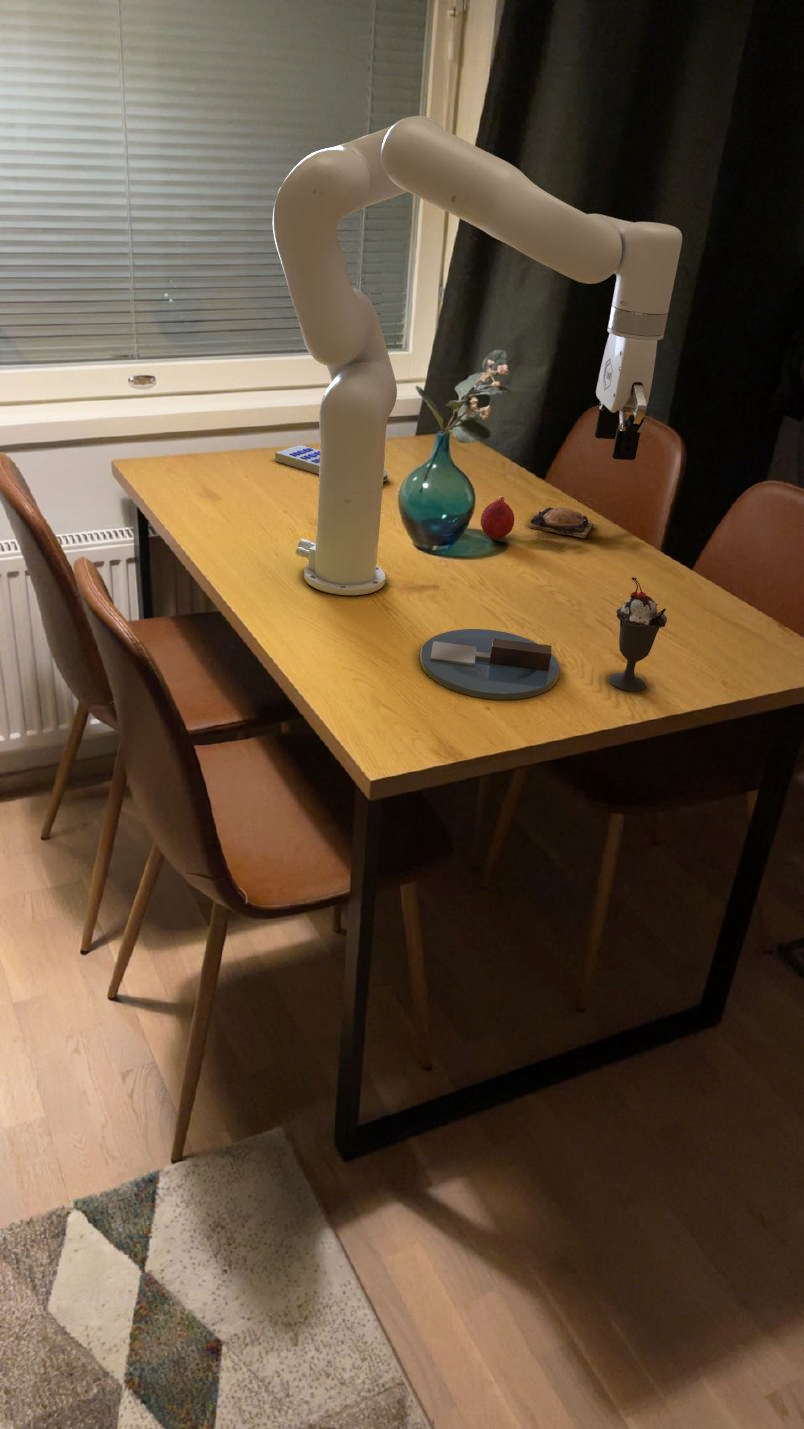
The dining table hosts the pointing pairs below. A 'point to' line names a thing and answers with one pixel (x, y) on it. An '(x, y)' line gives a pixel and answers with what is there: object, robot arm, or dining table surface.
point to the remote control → (304, 458)
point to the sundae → (636, 636)
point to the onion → (497, 519)
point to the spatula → (495, 654)
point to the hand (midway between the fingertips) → (614, 448)
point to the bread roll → (562, 522)
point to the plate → (487, 668)
